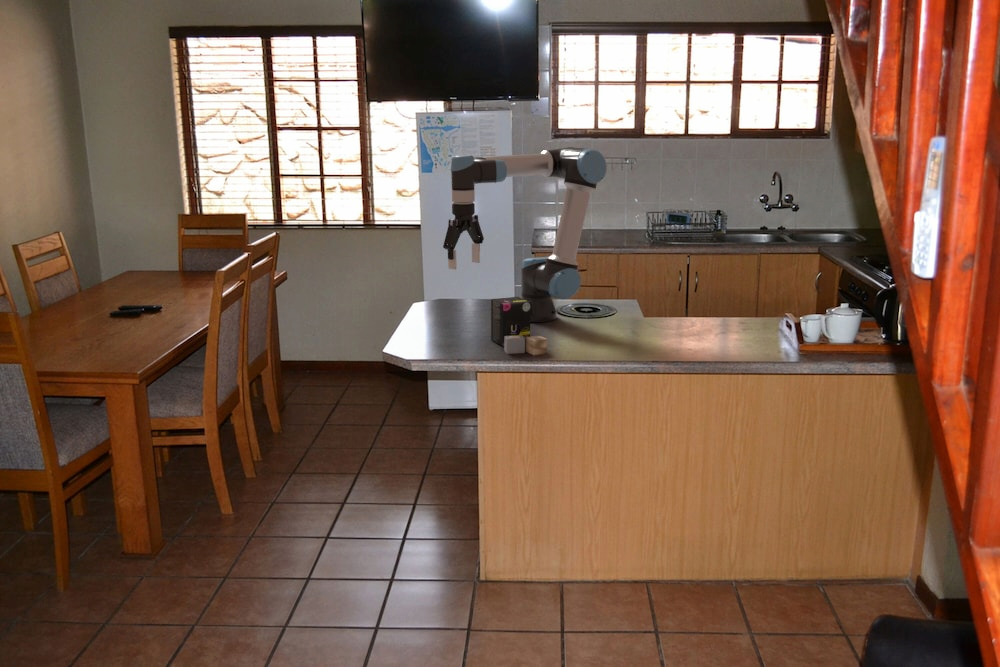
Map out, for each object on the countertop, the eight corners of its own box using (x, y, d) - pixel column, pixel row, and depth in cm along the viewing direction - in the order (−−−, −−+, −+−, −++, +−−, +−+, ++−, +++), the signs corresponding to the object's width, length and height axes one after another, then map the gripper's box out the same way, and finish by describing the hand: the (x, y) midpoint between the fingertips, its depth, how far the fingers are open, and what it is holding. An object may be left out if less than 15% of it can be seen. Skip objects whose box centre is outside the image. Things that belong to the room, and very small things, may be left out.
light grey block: (522, 349, 296) (522, 334, 295) (524, 353, 292) (524, 337, 291) (504, 350, 295) (504, 335, 294) (506, 354, 291) (506, 338, 290)
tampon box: (502, 346, 299) (502, 304, 295) (490, 340, 307) (490, 298, 303) (531, 343, 304) (531, 301, 300) (518, 336, 312) (518, 295, 308)
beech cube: (538, 349, 296) (538, 334, 295) (546, 353, 292) (547, 338, 291) (525, 351, 294) (526, 336, 293) (533, 355, 290) (533, 340, 288)
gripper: (475, 198, 308) (476, 258, 314) (431, 206, 288) (433, 270, 294) (493, 199, 304) (494, 260, 310) (450, 207, 284) (451, 272, 290)
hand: (464, 265), depth 302 cm, fingers open, 13 cm apart
